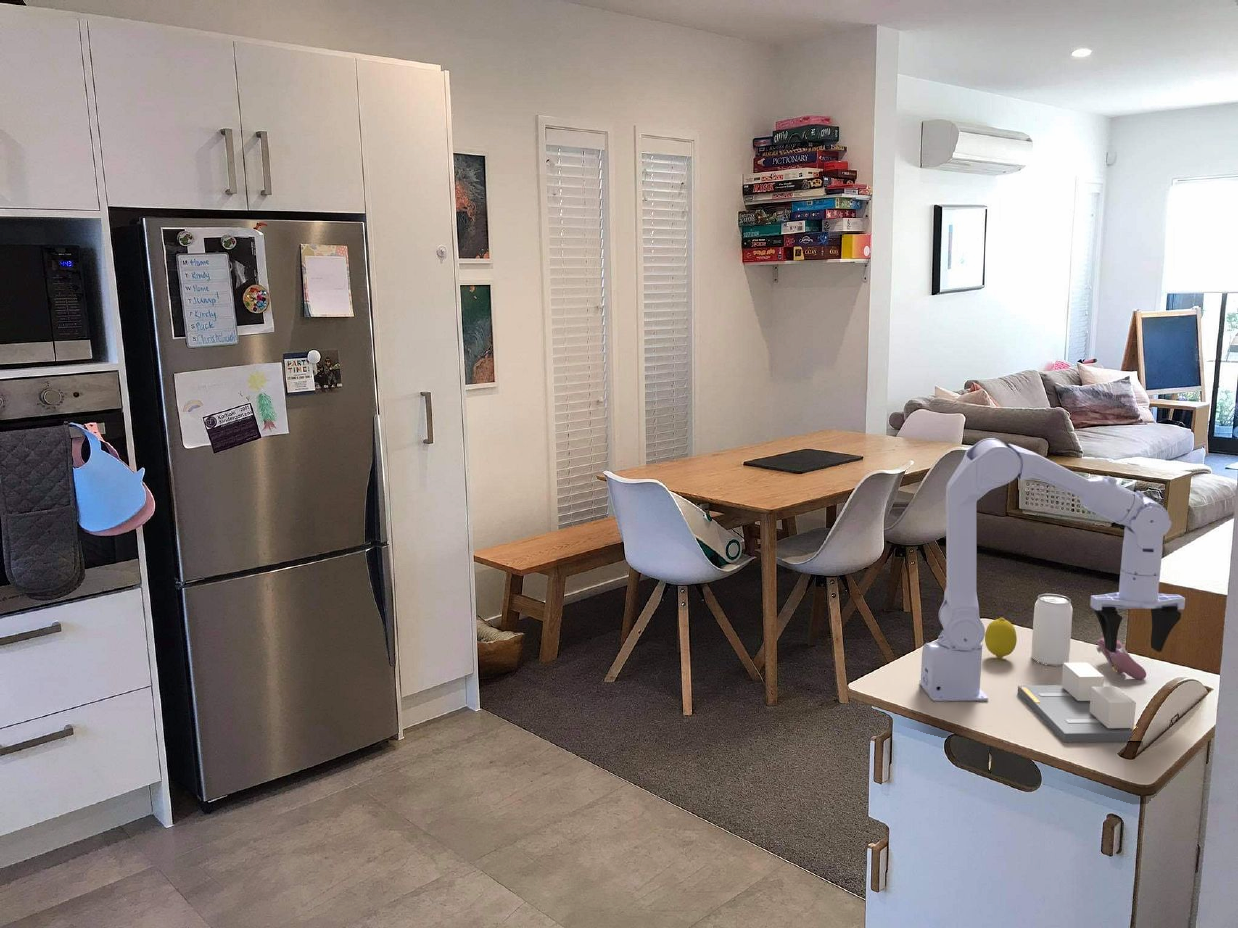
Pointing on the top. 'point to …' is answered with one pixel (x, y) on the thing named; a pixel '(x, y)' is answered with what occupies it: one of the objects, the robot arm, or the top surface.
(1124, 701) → the switch front
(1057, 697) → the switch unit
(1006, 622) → the lemon
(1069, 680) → the switch back
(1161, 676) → the top surface
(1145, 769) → the top surface
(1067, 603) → the can
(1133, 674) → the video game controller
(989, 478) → the robot arm
